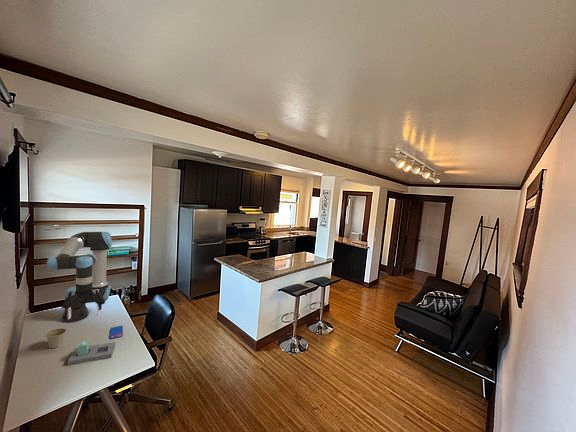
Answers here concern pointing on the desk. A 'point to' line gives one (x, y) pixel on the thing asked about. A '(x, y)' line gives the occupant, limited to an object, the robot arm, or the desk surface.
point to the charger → (83, 348)
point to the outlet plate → (93, 354)
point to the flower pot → (56, 337)
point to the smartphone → (116, 332)
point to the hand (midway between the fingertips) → (84, 316)
